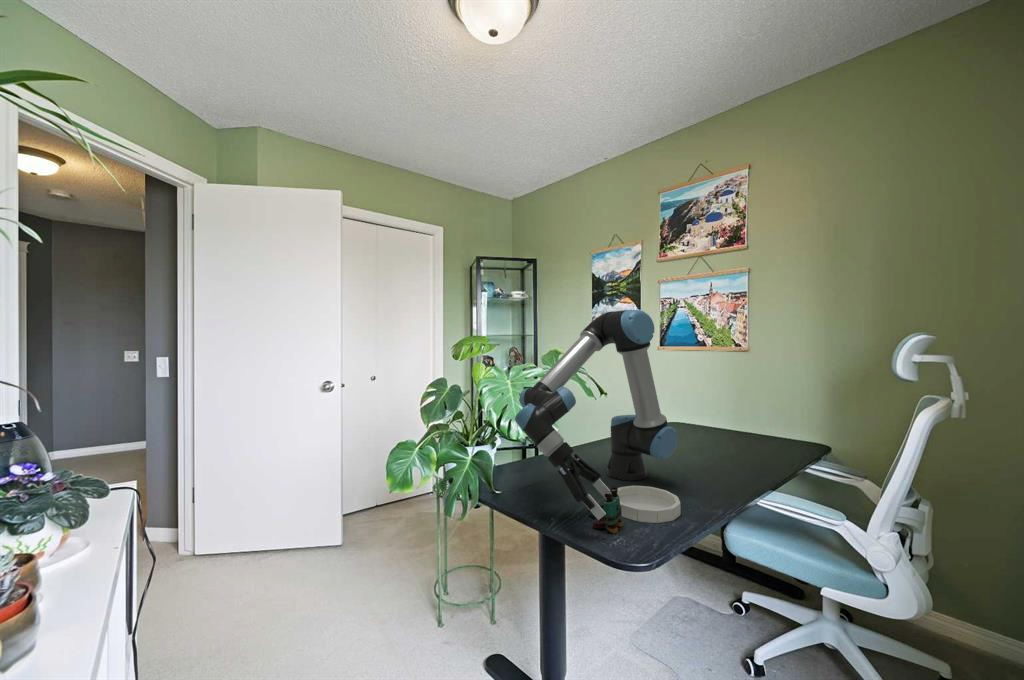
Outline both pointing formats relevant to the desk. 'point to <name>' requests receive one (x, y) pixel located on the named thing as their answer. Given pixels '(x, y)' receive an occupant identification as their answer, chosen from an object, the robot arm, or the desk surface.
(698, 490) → the desk surface
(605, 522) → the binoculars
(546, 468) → the desk surface
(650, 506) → the dish
